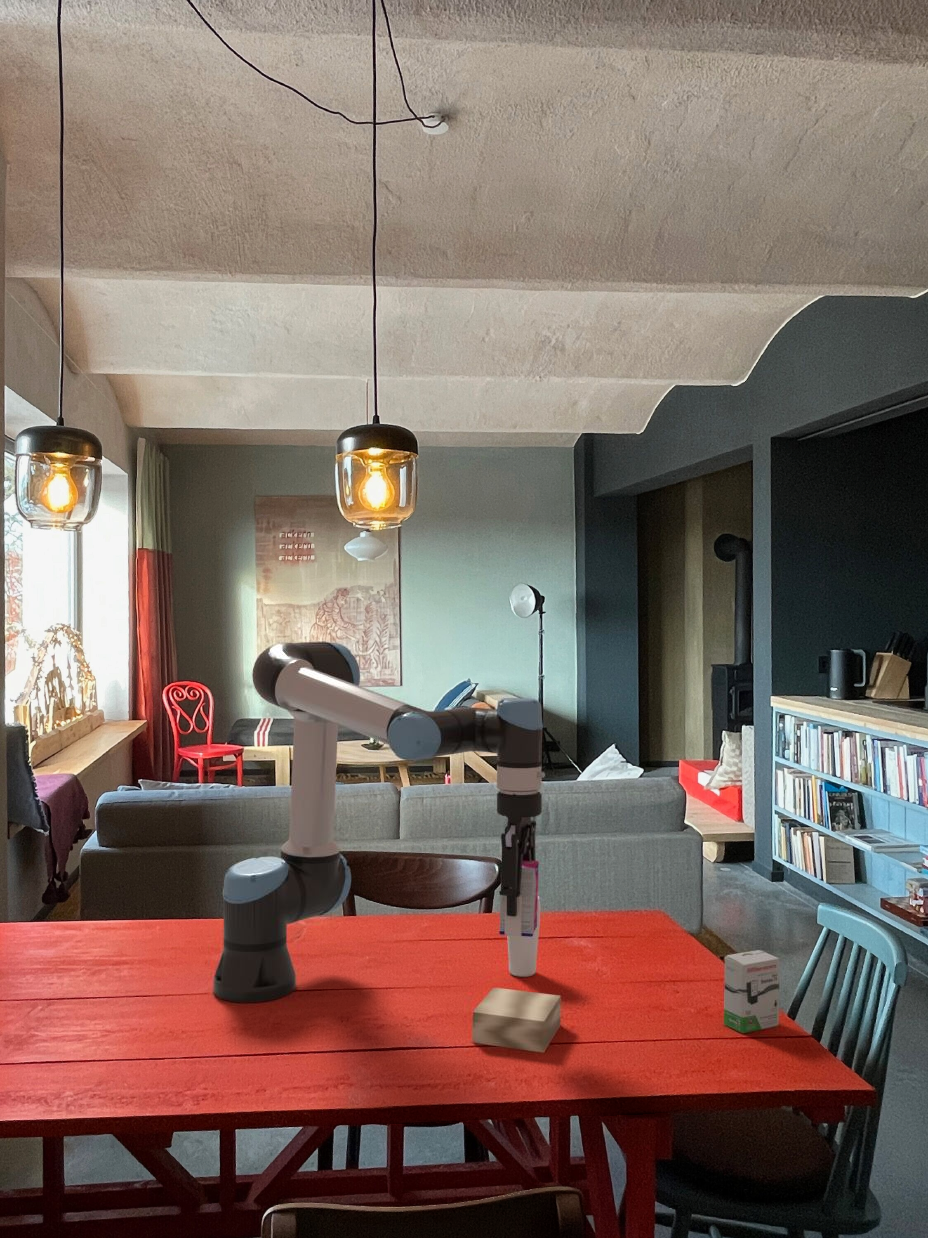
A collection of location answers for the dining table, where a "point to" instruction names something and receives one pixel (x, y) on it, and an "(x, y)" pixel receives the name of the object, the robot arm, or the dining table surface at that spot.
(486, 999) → the maple block
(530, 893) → the supplement box
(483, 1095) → the dining table surface
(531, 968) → the drinking glass
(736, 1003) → the ink box
